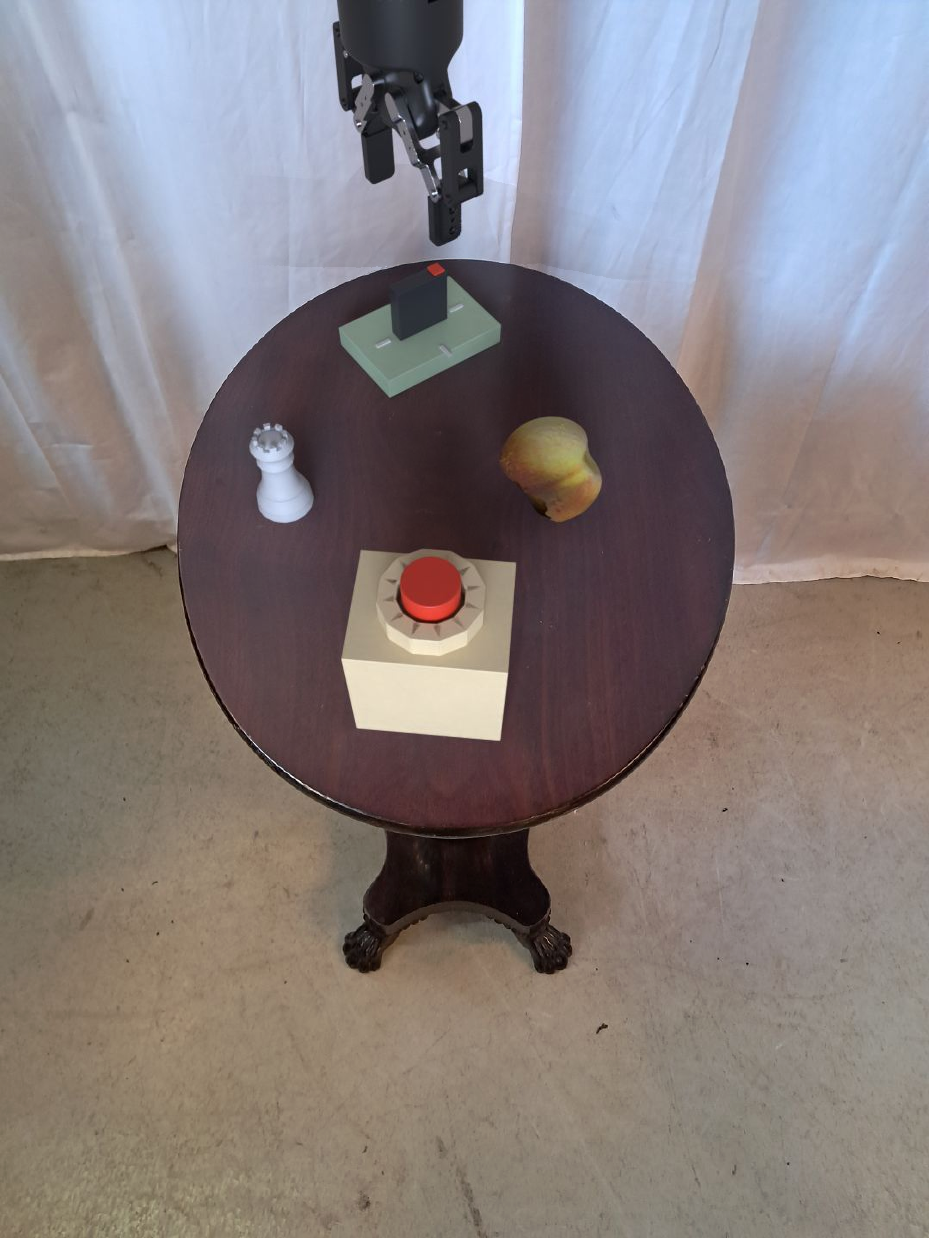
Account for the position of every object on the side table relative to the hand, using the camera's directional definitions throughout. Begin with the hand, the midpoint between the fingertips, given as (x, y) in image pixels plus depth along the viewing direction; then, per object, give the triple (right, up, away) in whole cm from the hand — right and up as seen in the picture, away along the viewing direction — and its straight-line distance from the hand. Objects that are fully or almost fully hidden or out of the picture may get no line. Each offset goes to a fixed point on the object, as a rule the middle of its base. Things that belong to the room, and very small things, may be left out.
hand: (412, 209), depth 66 cm
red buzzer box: (+2, -34, -1) cm, 34 cm away
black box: (0, -4, +15) cm, 15 cm away
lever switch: (0, -5, +16) cm, 17 cm away
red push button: (+2, -28, -11) cm, 31 cm away
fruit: (+10, -20, +7) cm, 24 cm away
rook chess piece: (-11, -21, +7) cm, 24 cm away
